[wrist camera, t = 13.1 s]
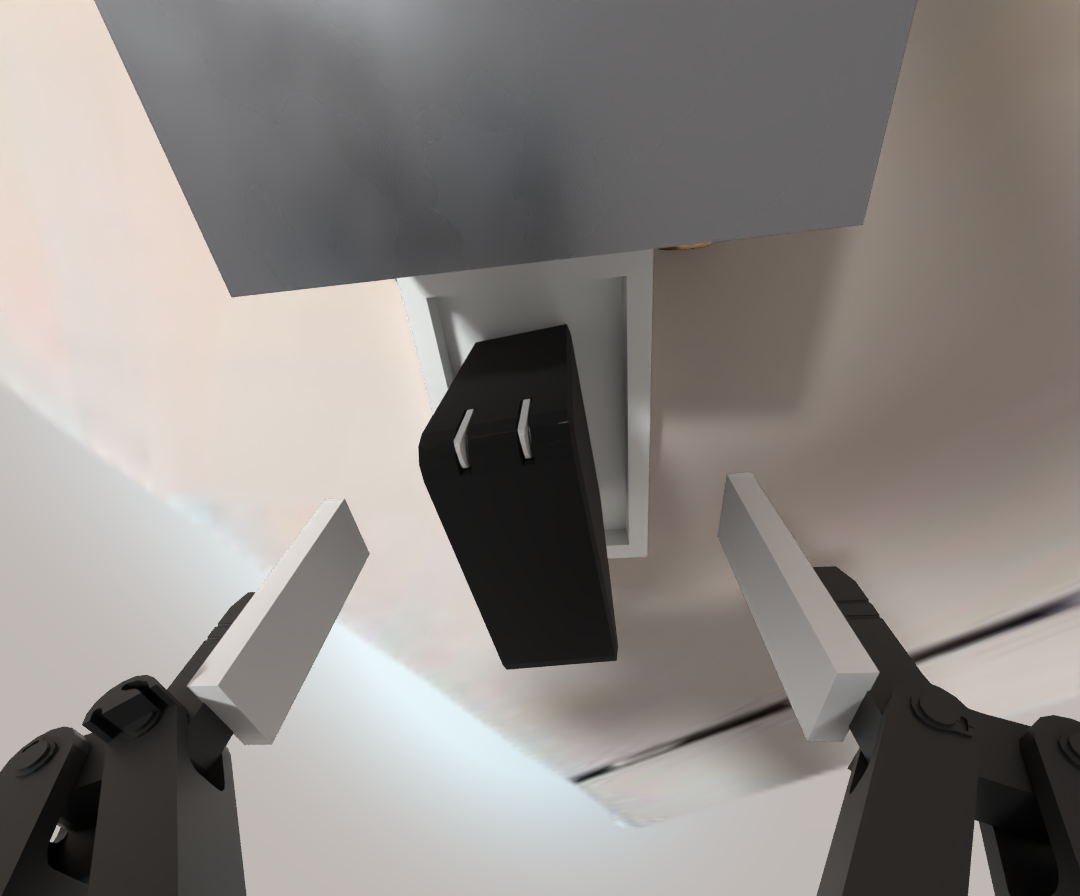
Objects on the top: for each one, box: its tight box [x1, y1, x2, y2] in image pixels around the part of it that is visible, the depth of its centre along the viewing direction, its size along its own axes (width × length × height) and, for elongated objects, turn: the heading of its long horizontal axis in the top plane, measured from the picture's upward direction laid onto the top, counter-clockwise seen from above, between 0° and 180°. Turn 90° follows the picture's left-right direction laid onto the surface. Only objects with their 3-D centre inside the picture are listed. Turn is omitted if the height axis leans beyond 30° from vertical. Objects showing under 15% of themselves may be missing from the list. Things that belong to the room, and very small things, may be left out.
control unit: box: [94, 0, 917, 297], centre depth 11 cm, size 10×14×11 cm
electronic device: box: [419, 324, 618, 669], centre depth 17 cm, size 4×10×10 cm, turn 12°
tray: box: [396, 249, 654, 559], centre depth 21 cm, size 16×10×2 cm, turn 7°
